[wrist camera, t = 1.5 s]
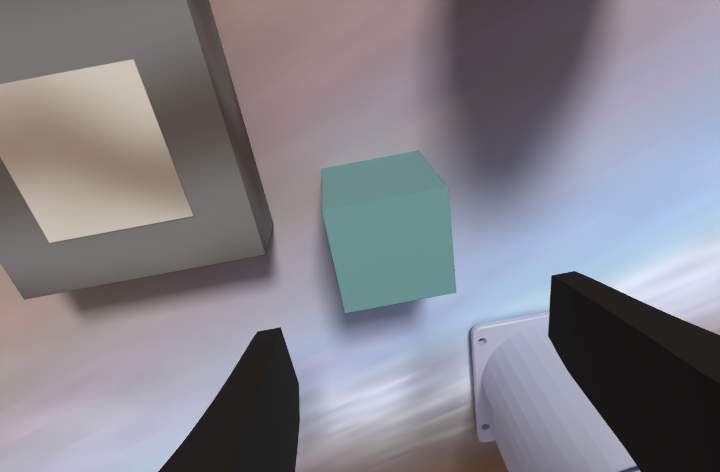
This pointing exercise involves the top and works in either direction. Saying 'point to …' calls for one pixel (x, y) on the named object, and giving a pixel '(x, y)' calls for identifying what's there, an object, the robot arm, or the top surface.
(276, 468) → the robot arm
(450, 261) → the teal block
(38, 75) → the plinth
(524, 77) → the top surface
